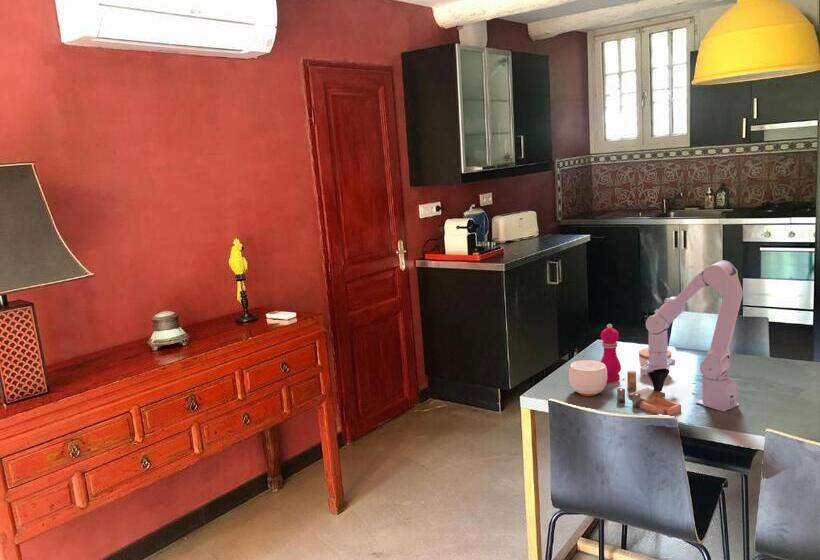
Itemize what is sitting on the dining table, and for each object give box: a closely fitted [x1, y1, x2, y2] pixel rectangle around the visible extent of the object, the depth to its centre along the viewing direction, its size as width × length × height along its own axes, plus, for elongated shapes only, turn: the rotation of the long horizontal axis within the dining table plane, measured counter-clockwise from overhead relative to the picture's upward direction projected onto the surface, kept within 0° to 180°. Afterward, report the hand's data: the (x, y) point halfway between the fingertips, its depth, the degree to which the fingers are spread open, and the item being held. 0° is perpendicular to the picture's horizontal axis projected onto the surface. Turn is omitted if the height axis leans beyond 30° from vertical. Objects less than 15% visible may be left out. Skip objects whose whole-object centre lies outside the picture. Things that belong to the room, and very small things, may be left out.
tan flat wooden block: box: [628, 387, 666, 402], centre depth 216 cm, size 7×9×2 cm
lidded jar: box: [638, 347, 672, 376], centre depth 237 cm, size 11×11×9 cm
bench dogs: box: [616, 387, 641, 409], centre depth 211 cm, size 8×2×4 cm, turn 32°
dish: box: [639, 397, 682, 416], centre depth 205 cm, size 9×7×2 cm
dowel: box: [626, 370, 637, 392], centre depth 224 cm, size 3×3×6 cm
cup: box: [568, 359, 608, 397], centre depth 222 cm, size 12×12×10 cm
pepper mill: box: [600, 323, 622, 384], centre depth 232 cm, size 7×7×20 cm
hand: (657, 390), depth 219 cm, fingers closed
